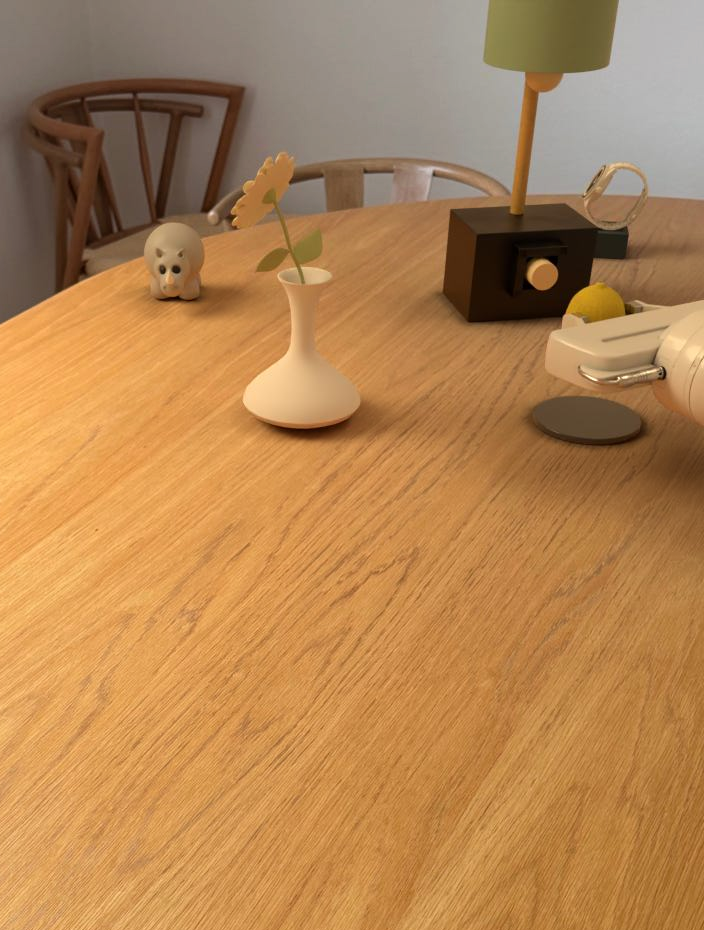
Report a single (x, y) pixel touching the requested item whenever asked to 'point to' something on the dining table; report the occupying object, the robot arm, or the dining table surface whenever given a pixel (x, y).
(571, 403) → the coaster
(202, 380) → the dining table surface
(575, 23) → the desk lamp
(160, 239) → the round bodied animal figurine
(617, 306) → the lemon
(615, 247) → the watch
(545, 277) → the lamp switch
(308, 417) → the flower in vase
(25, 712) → the dining table surface
